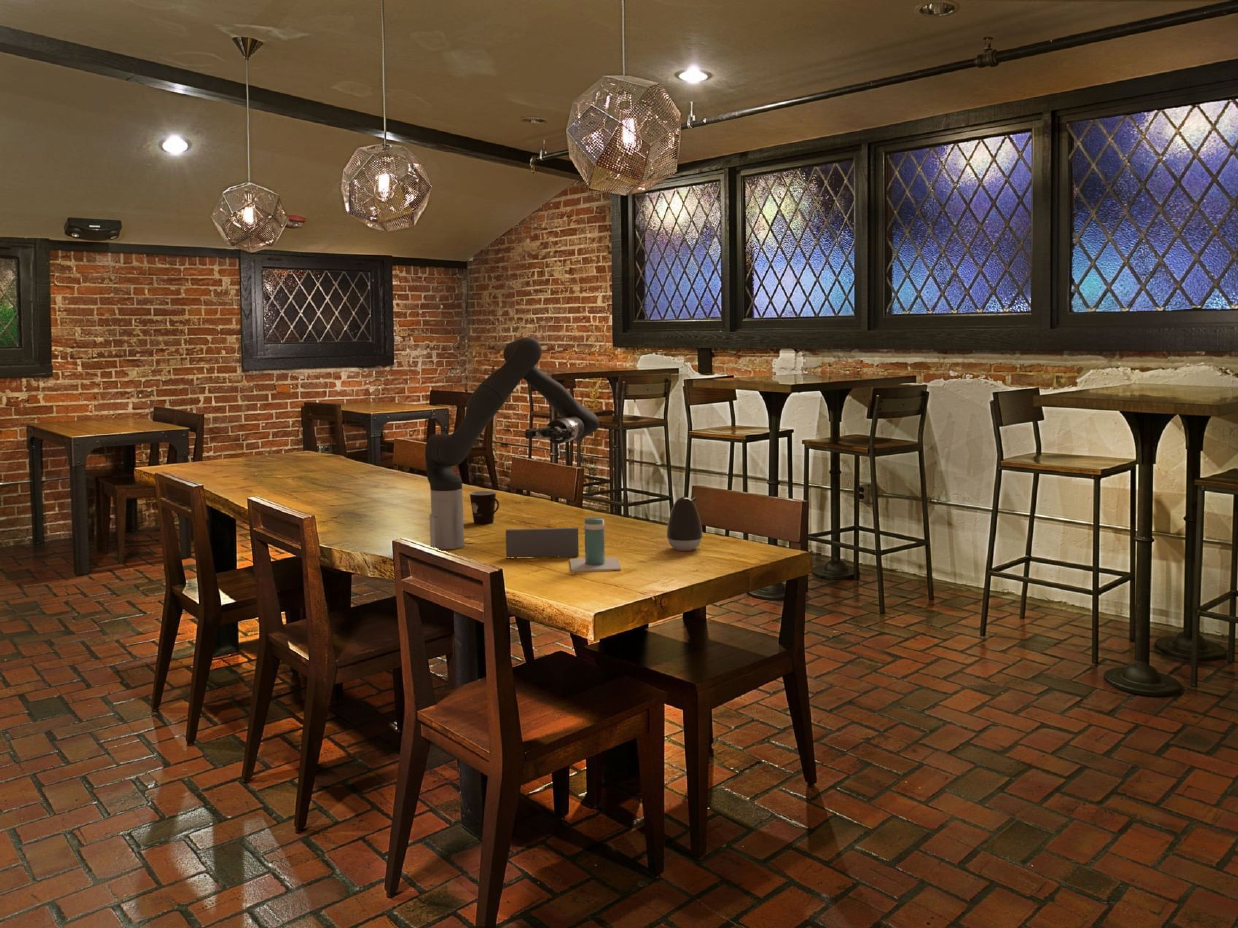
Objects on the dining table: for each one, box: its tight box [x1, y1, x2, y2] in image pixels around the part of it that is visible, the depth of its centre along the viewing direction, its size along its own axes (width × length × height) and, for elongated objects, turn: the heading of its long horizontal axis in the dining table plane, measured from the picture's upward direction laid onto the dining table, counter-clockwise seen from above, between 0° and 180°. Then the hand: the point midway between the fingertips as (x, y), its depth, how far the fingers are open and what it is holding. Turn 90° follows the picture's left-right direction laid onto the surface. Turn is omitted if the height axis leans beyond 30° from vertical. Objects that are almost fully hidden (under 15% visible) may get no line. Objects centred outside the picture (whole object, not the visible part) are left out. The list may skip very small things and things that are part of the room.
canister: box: [583, 516, 606, 565], centre depth 265 cm, size 5×5×12 cm
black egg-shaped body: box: [666, 496, 703, 552], centre depth 284 cm, size 10×10×15 cm
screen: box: [505, 527, 580, 558], centre depth 276 cm, size 20×2×8 cm, turn 94°
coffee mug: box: [469, 490, 500, 526], centre depth 327 cm, size 12×9×10 cm
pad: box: [569, 557, 622, 573], centre depth 266 cm, size 13×13×1 cm
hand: (539, 435), depth 292 cm, fingers open, 8 cm apart
